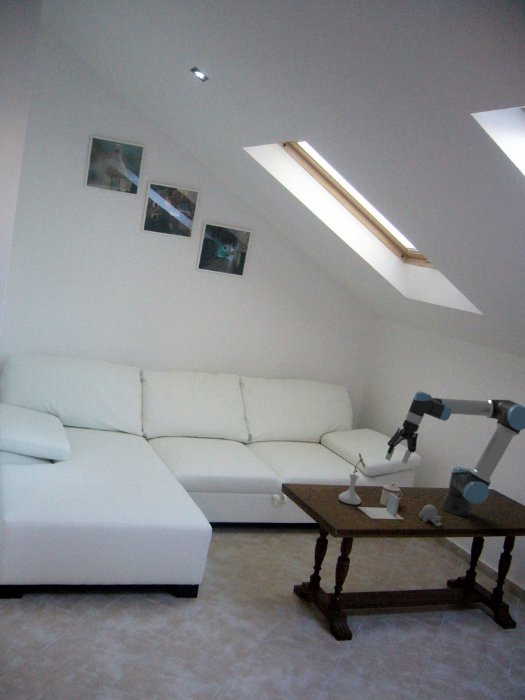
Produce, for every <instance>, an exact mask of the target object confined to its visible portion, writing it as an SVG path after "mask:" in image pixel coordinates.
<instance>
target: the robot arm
mask: <svg viewBox="0 0 525 700" xmlns="http://www.w3.org/2000/svg"><path fill="white" fill-rule="evenodd" d="M452 414H453V415H464V416H465V415H466V416H467V415H468V416H481V417H482V416H483V417H486V418H487V419H493V420H496V426H497V428H496V429H495V431H494V433H493V435H492V436H491V439H490V440H489V442H487V443H488V444H487V445H486V447H485V449H484V450H483V452H482V454H481V456H480V458H479V459H478V461H477V463H476V465H475V466H474V468H466V467H461V466H454V467H453V468H452V471H451V475H450V481H449V485H448V488H447V489H448V490H447V494H446V496H445V497H444V500H443V501H442V502H441V506H440V507H441V509H442V510H443V511H445V512H448V513H449V514H452V515H456V516H460V517H461V516H462V517H469V516H471V514H472V504H480V503H484V502H485V501H486V500H487V499H488V498H489V495H490V494H489V493H490V491H489V487H490V485H491V484H492V481H491V476H492V475H493V474H494V471H495V470H496V468H497V466H498V465H499V463H500V461H501V459H502V457H503V455H504V454H505V452H506V450H507V449H508V448H509V445H510V444H511V441H512V440H513V438H514V437H515V436H518V435H519V434H520V433H521V431H523V430H525V406H523V405H522V404H519V403H517V402H515V401H513V400H509V399H487V400H486V401H485V400H476V399H475V400H473V399H456V398H455V399H454V398H441V397H440V398H439V397H437V398H436V397H432V395H431V394H429V393H427V392H424V391H421V390H417V391H416V393H415V395H414V397H413V398H412V401H411V404H410V407H409V409H408V412H407V414H406V416H405V419H404V421H403V423H402V427H403V428H401V427H398V428H397V431H395V433H394V435H393V436H391V438H390V439H389V440H388V442H387V446H389V447H388V450H387V452H386V455H385V457H384V459H385V460H386V461H389V462H390V461H391V459H392V457H393V454H394V452H395V449H396V448H395V447H396V446H398V444H400V443H401V442H402V441H404V440H406V443H407V445H406V446H407V449H406V450H405V453H404V455H403V457H402V460H401V463H403V464H405V465H407V464H408V461H409V459H410V457H411V455H412V453H414V452H416V451H417V441H418V437H419V433H417V432H418V430H419V427H420V425H421V423H422V420H423V418H424V416H425V415H428V416H430V417H433V418H435V419H438V420H440V421H444V422H446V421H448V420H449V419H450V417H451V415H452Z"/></svg>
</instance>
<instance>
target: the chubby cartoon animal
mask: <svg viewBox="0 0 525 700" xmlns="http://www.w3.org/2000/svg"><path fill="white" fill-rule="evenodd" d="M418 517H419V518H421V519H422V522H423V523H424V522H425V523H427V522H431V523H432V524H434V526H435V527H440V526H441V525H442V523H441V518H442V517H443V516H439V515H438V509H437V507H436V506H435V505H433V504H426V505H424V507H422V510H421V511H420V512H419V513H418Z"/></svg>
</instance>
